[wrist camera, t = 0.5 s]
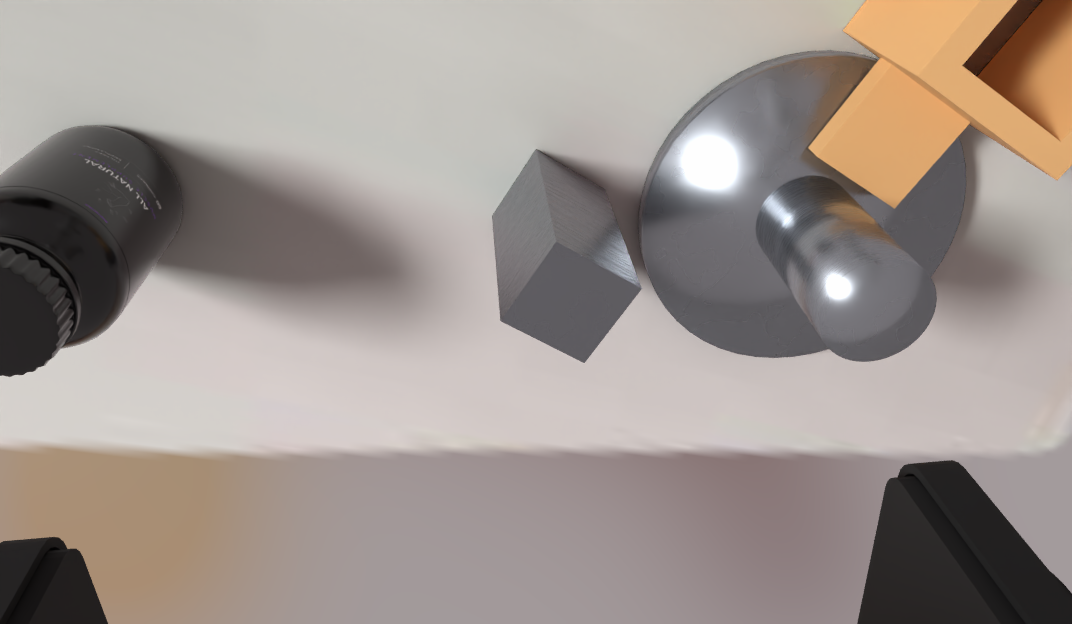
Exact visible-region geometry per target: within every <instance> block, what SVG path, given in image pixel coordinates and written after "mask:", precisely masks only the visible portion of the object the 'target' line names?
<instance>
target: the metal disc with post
mask: <svg viewBox="0 0 1072 624" xmlns="http://www.w3.org/2000/svg"><path fill="white" fill-rule="evenodd" d="M877 61H878V60H876V59H874V58H871V57H867V56H863V55H859V54H855V53H850V52H840V51H807V52H801V53H796V54H790V55H784V56H781V57H778V58H775V59H771V60H768V61H765V62H762V63H760V64H757V65H755V66H753V67H751V68H748V69H746V70H744V71H741V72H740V73H738V74H736V75H735V76H733V77H731V78H730V79H728V80H726V81H724V82H723V83H721V84H720V85H718V86H717V87H716V88H714V89H713V90H712V91H710V92H709V93H708V94H707V95H705V96H704V97H703V98H701V99H700V100H699V101H698V102H697V103H696V104H695V105H694V106H693V107H692V108H691V109H690V110H689V111H688V112H687V113H686V114H685V115H684V116H683V117H682V119H681V120H680V121H679V122H678V123H677V125H676V126H675V127H674V128H673V130H672V131H671V132H670V133H669V135H668V137H667V138H666V140H665V141H664V143H663V145H662V146H661V148H660V149H659V151H658V153H657V155H656V157H655V159H654V161H653V163H652V166H651V168H650V170H649V172H648V176H647V179H646V182H645V185H644V188H643V191H642V197H641V202H640V208H639V224H638V232H639V241H640V249H641V253H642V257H643V261H644V265H645V267H646V270H647V272H648V275H649V277H650V280H651V282H652V284H653V287H654V289H655V292H656V293H657V295H658V297H659V298H660V300H661V301H662V303H663V305H664V306H665V308H666V309H667V310H668V311H669V312H670V314H671V315H672V316H673V317H674V318H675V319H676V321H678V322H679V323H680V324H681V325H682V326H683V327H685V328H686V329H687V330H688V331H689V332H691V333H692V334H694V335H695V336H697V337H699V338H700V339H702V340H703V341H705V342H707V343H709V344H712V345H714V346H716V347H718V348H721V349H724V350H727V351H730V352H734V353H737V354H742V355H748V356H754V357H769V358H778V357H794V356H800V355H806V354H812V353H816V352H819V351H823V350H826V349H830V350H831V351H832V352H834V353H835V354H837V355H838V356H840V357H842V358H845V359H848V360H852V361H861V362H866V361H875V360H880V359H884V358H887V357H890V356H892V355H894V354H896V353H898V352H900V351H902V350H904V349H905V348H907V347H908V346H909V345H911V344H912V343H913V342H914V341H915V340H917V339H918V338H919V337H920V335H921V334H922V333H923V332H924V331H925V329H926V328H927V326H928V325H929V323H930V321H931V319H932V317H933V314H934V312H935V308H936V300H937V296H936V289H935V285H934V283H933V281H932V279H931V276H932V275H933V273H934V272H935V270H936V269H937V267H938V266H939V264H940V263H941V261H942V260H943V258H944V256H945V254H946V252H947V250H948V248H949V246H950V245H951V243H952V240H953V238H954V235H955V232H956V230H957V227H958V225H959V221H960V217H961V213H962V209H963V205H964V198H965V189H966V168H965V160H964V155H963V149H962V145H961V142H960V139H959V136H958V137H957V138H956V139H955V141H954V142H953V143H952V144H951V145H950V146H949V147H948V149H947V150H946V151H945V152H944V153H943V154H942V155H941V156H940V158H939V159H938V160H937V161H936V162H935V163H934V164H933V166H932V167H931V168H930V169H929V170H928V171H927V172H926V174H925V175H924V176H923V177H922V178H921V179H920V180H919V181H918V183H917V184H916V185H915V186H914V187H913V188H912V189H911V191H910V192H909V193H908V194H907V195H906V196H905V197H904V199H903V200H902V201H901V202H900V203H899V204H898V205H897V206H896V208H895V209H894V208H893V207H891V206H890V205H888V204H887V203H885V202H884V201H882V200H881V199H879V198H878V197H876V196H875V195H873V194H872V193H870V192H869V191H867V190H866V189H864V188H863V187H861V186H860V185H858V184H857V183H855V182H854V181H852V180H851V179H849V178H848V177H846V176H845V175H843V174H842V173H840V172H839V171H837V170H836V169H834V168H833V167H831V166H830V165H828V164H827V163H826V162H824V161H823V160H821V159H820V158H818V157H817V156H816V155H815V154H814V153H813V152H812V151H811V150H810V149H809V148H808V147H809V146H810V145H811V143H812V142H813V141H814V140H815V138H816V137H817V136H818V135H819V133H820V132H821V131H822V130H823V129H824V127H825V126H826V125H827V124H828V122H829V121H830V120H831V119H832V117H833V116H834V115H835V114H836V112H837V111H838V110H839V109H840V107H841V106H842V105H843V104H844V102H845V101H846V100H847V99H848V97H849V96H850V95H851V94H852V92H853V91H854V90H855V89H856V87H857V86H858V85H859V84H860V82H861V81H862V80H863V79H864V78H865V76H866V75H867V74H868V73H869V71H870V70H871V69H872V68H873V66H874V65H875V64H876V63H877Z"/></svg>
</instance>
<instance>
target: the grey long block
mask: <svg viewBox="0 0 1072 624" xmlns="http://www.w3.org/2000/svg"><path fill="white" fill-rule="evenodd" d="M492 220H493V232H494V245H495V257H496V270H497V283H498V295H499V308H500V321H502V322H504V323H506V324H508V325H510V326H512V327H514V328H516V329H518V330H520V331H522V332H524V333H526V334H528V335H530V336H532V337H534V338H536V339H538V340H540V341H541V342H543V343H545V344H547V345H549V346H551V347H553V348H555V349H557V350H559V351H561V352H563V353H565V354H567V355H569V356H571V357H573V358H575V359H577V360H579V361H581V362H583V363H585V362H586V360H587V359H588V358H589V356H590V355H591V354H592V352H593V351H594V350H595V349H596V347H597V346H598V345H599V343H600V342H601V341H602V340H603V338H604V337H605V336H606V334H607V333H608V332H609V330H610V329H611V328H612V327H613V325H614V324H615V323H616V321H617V320H618V319H619V318H620V316H621V315H622V314H623V312H624V311H625V310H626V308H627V307H628V306H629V305H630V303H631V302H632V301H633V299H634V298H635V297H636V296H637V294H638V293H639V292H640V290H641V289H642V288H641V285H640V282H639V280H638V277H637V274H636V272H635V269H634V266H633V264H632V261H631V258H630V256H629V253H628V250H627V248H626V245H625V242H624V240H623V237H622V234H621V231H620V229H619V226H618V223H617V221H616V218H615V215H614V213H613V210H612V207H611V205H610V202H609V199H608V197H607V194H606V191H605V189H603V188H601V187H600V186H598V185H596V184H594V183H593V182H591V181H589V180H588V179H586V178H584V177H583V176H581V175H579V174H577V173H576V172H574V171H572V170H571V169H569V168H567V167H566V166H564V165H562V164H560V163H559V162H557V161H555V160H554V159H552V158H550V157H548V156H547V155H545V154H543V153H542V152H540V151H538V150H537V149H536V150H535V152H534V153H533V155H532V156H531V158H530V159H529V161H528V162H527V164H526V165H525V167H524V168H523V170H522V171H521V173H520V174H519V176H518V177H517V179H516V181H515V182H514V184H513V185H512V187H511V188H510V190H509V191H508V193H507V194H506V196H505V197H504V199H503V200H502V202H501V203H500V205H499V206H498V208H497V210H496V211H495V213H494V214H493V216H492Z"/></svg>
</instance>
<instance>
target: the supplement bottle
mask: <svg viewBox="0 0 1072 624" xmlns="http://www.w3.org/2000/svg"><path fill="white" fill-rule="evenodd" d="M182 208H183V205H182V196H181V191H180V188H179V185H178V182H177V180H176V178H175V176H174V174H173V172H172V170H171V169H170V167H169V166H168V164H167V163H166V162H165V161H164V159H163V158H162V157H161V156H160V155H159V154H158V153H157V152H156V151H155V150H154V149H152V148H151V147H150V146H149V145H147V144H146V143H144V142H143V141H142V140H140V139H138V138H136V137H135V136H133V135H130V134H128V133H126V132H123V131H121V130H117V129H114V128H110V127H104V126H78V127H73V128H69V129H66V130H63V131H61V132H59V133H57V134H55V135H53V136H51V137H50V138H48V139H47V140H46V141H44V142H43V143H41V144H40V145H38V146H37V147H36V148H34V149H33V150H32V151H31V152H29V153H28V154H27V155H25V156H24V157H23V158H21V159H20V160H19V161H17V162H16V163H15V164H14V165H12V166H11V167H10V168H8V169H7V170H6V171H4V172H3V173H2V174H0V376H2V375H4V376H8V377H11V376H13V375H24V374H25V373H26V372H33V371H35V370H36V369H37V368H38V367H42V366H44V365H46V364H47V362H48V361H49V360H50V359H51V358H53V357H54V356H55V355H56V354H57V352H58V351H59V350H60V349H62V348H68V347H73V346H76V345H80V344H83V343H85V342H88V341H90V340H92V339H94V338H96V337H97V336H99V335H100V334H102V333H103V332H105V331H106V330H107V329H108V328H109V327H110V326H111V325H112V324H113V323H114V322H115V321H116V319H117V318H118V317H119V316H120V314H121V313H122V311H123V310H124V309H125V307H126V306H127V304H128V303H129V302H130V300H131V299H132V297H133V296H134V294H135V293H136V292H137V290H138V289H139V287H140V286H141V284H142V283H143V282H144V280H145V279H146V277H147V276H148V274H149V273H150V272H151V270H152V269H153V267H154V266H155V265H156V263H157V262H158V260H159V259H160V257H161V256H162V255H163V253H164V252H165V250H166V249H167V247H168V246H169V244H170V243H171V241H172V240H173V238H174V236H175V235H176V233H177V230H178V228H179V226H180V222H181V218H182Z"/></svg>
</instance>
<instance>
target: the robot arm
mask: <svg viewBox="0 0 1072 624" xmlns="http://www.w3.org/2000/svg"><path fill="white" fill-rule="evenodd" d="M0 624H108V622H107V620H106V617H105V615H104V612H103V609H102V607H101V604H100V601H99V599H98V596H97V593H96V591H95V588H94V585H93V583H92V580H91V577H90V575H89V572H88V569H87V567H86V564H85V561H84V559H83V556H82V555H81V553H80V551H78V550H77V549H67V547H66V545H65V543H64V542H63V541H62V540H61V539H60V538H57V537H49V538H37V539H26V540H14V541H3V542H1V543H0ZM858 624H1072V593H1071V592H1070V591H1069V590H1068V589H1067V587H1066V586H1065V585H1064V584H1063V583H1062V582H1061V581H1060V580H1059V579H1058V578H1057V577H1056V576H1055V575H1054V574H1052V573H1051V572H1050V571H1049V570H1048V569H1047V567H1046V566H1045V565H1044V564H1043V563H1042V561H1041V560H1040V559H1039V558H1038V557H1037V555H1036V554H1035V553H1034V552H1033V550H1032V549H1031V548H1030V547H1029V546H1028V544H1027V543H1026V542H1025V541H1024V540H1023V539H1022V537H1021V536H1020V535H1019V534H1018V532H1017V531H1016V530H1015V529H1014V527H1013V526H1012V525H1011V524H1010V523H1009V521H1008V520H1007V519H1006V518H1005V517H1004V515H1003V514H1002V513H1001V512H1000V510H999V509H998V508H997V507H996V506H995V504H994V503H993V502H992V501H991V500H990V498H989V497H988V496H987V495H986V494H985V492H984V491H983V490H982V489H981V487H980V486H979V485H978V484H977V483H976V481H975V480H974V479H973V478H972V477H971V475H970V474H969V473H968V472H967V471H966V469H965V468H964V467H963V466H961V465H960V464H959V463H958V462H955V461H953V460H951V461H939V462H928V463H915V464H908V465H904V466H903V467H902V469H901V470H900V472H899V475H898V477H897V478H891V479H889V481H888V482H887V484H886V487H885V492H884V497H883V502H882V507H881V511H880V516H879V521H878V526H877V531H876V536H875V540H874V546H873V550H872V555H871V560H870V565H869V570H868V574H867V579H866V584H865V589H864V594H863V599H862V604H861V609H860V613H859V618H858Z"/></svg>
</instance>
